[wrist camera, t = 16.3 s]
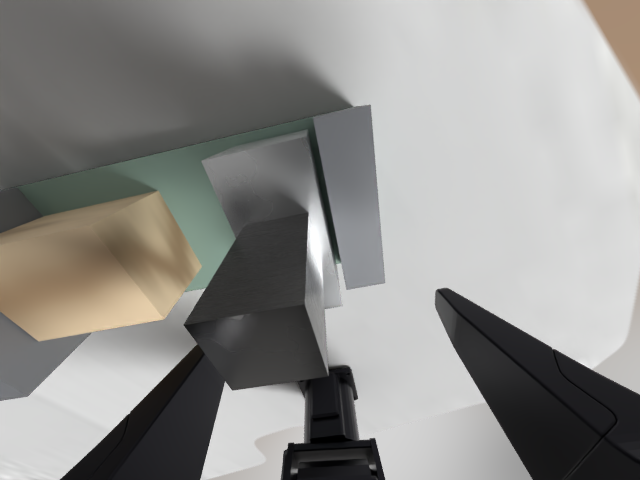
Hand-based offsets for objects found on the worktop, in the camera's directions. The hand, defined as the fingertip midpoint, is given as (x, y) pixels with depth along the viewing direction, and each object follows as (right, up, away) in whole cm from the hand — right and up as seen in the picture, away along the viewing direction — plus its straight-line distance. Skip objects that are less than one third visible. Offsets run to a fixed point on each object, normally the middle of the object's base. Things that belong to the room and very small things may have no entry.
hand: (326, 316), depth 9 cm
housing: (-14, +3, +7) cm, 15 cm away
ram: (-2, +5, +5) cm, 8 cm away
